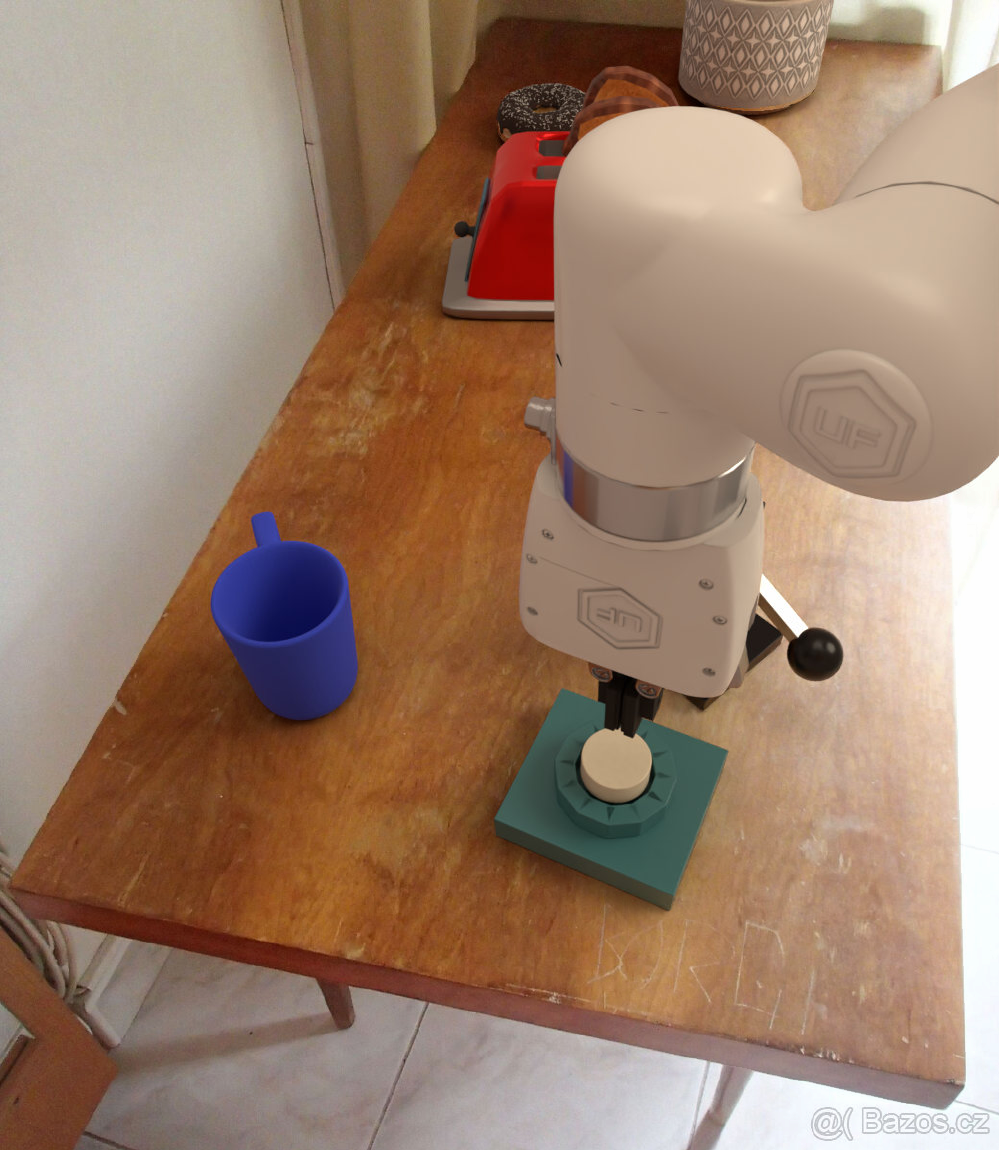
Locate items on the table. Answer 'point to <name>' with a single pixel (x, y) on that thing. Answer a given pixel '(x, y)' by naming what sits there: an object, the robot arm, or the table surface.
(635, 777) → the button
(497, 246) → the toaster
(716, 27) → the planter
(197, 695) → the table surface
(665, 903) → the button block
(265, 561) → the mug
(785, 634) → the lever
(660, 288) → the robot arm
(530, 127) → the donut
